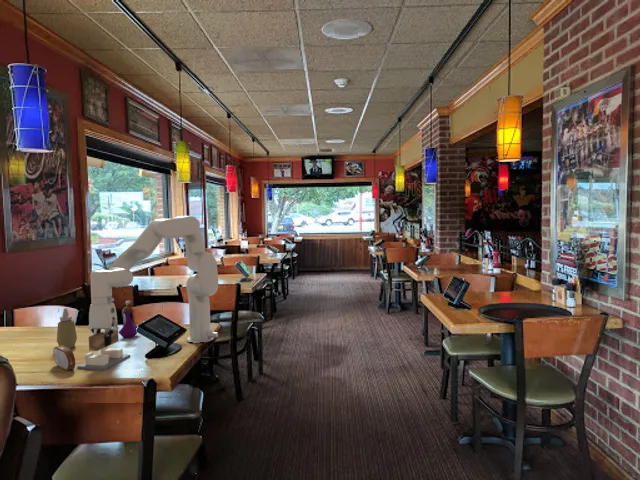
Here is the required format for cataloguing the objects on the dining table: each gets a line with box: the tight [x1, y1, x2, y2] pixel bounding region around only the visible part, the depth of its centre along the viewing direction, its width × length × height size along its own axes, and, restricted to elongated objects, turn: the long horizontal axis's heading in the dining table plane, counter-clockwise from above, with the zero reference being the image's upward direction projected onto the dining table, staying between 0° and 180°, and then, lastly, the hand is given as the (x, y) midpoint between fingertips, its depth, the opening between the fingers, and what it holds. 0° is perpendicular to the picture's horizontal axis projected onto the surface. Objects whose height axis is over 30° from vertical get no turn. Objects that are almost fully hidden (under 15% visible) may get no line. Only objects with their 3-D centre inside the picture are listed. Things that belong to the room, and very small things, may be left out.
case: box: [88, 327, 119, 352], centre depth 178 cm, size 4×13×6 cm, turn 168°
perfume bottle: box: [118, 300, 138, 339], centre depth 215 cm, size 8×8×18 cm
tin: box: [53, 345, 76, 371], centre depth 172 cm, size 15×3×8 cm, turn 51°
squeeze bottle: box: [56, 308, 78, 349], centre depth 199 cm, size 8×8×18 cm
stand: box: [76, 346, 131, 371], centre depth 178 cm, size 12×16×5 cm
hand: (103, 344), depth 177 cm, fingers closed on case, 3 cm apart
